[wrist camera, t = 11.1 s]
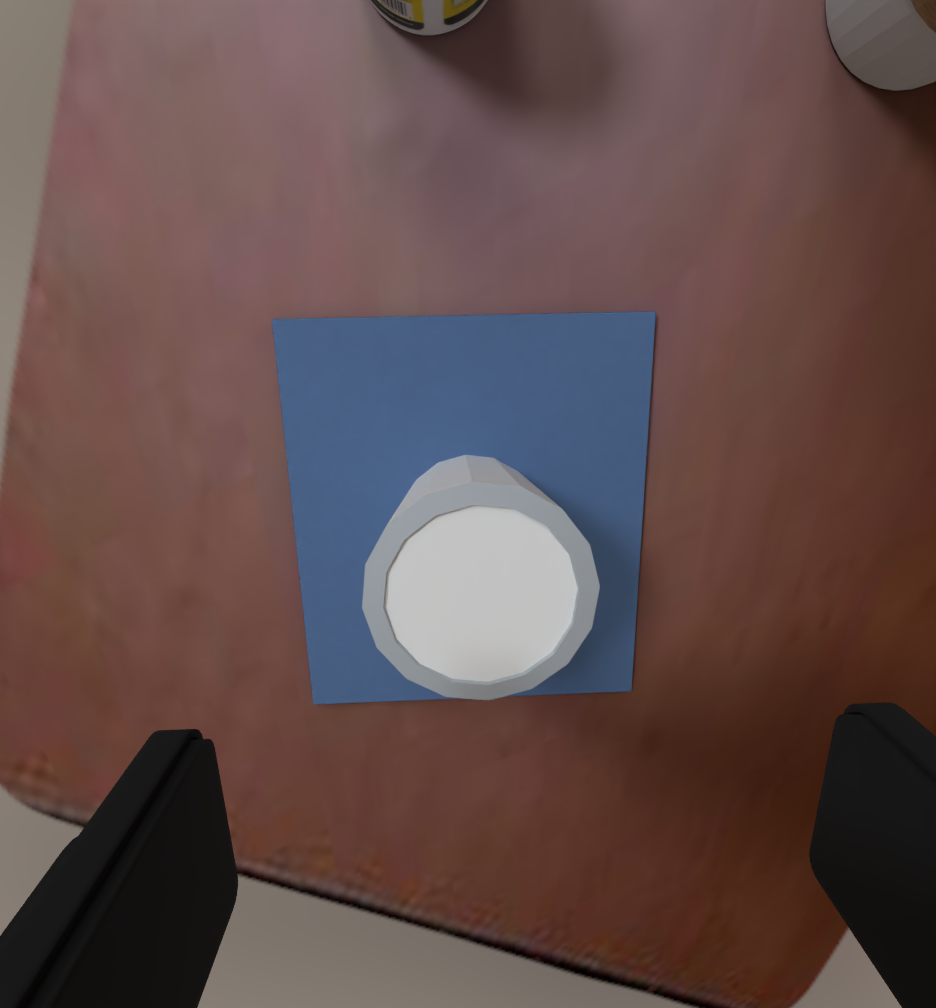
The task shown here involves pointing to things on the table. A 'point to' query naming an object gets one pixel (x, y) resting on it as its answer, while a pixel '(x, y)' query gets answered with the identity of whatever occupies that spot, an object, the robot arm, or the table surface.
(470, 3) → the supplement bottle
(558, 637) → the white cup
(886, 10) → the coffee cup
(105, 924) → the robot arm
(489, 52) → the table surface
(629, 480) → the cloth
